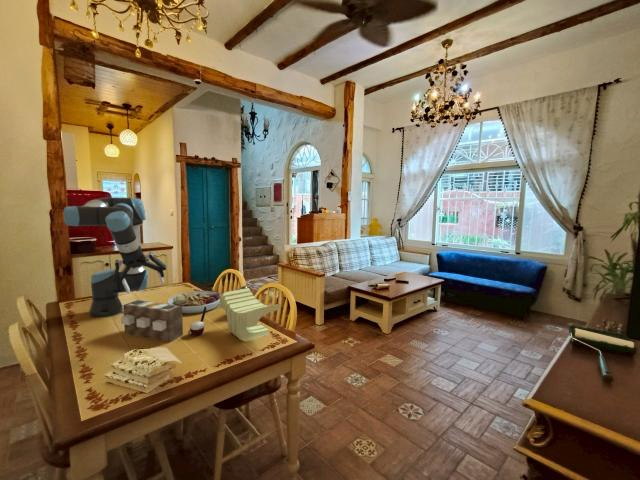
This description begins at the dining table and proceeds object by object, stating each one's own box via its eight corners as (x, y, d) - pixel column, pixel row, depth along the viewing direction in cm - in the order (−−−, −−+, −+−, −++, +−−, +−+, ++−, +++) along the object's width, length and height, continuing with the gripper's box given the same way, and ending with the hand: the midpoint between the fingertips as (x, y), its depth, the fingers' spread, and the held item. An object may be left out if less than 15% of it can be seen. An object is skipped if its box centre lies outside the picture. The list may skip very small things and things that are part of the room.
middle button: (136, 326, 134) (136, 319, 133) (142, 323, 137) (142, 316, 136) (144, 328, 132) (144, 320, 132) (150, 325, 135) (150, 318, 135)
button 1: (121, 323, 136) (120, 316, 136) (127, 321, 139) (127, 314, 139) (128, 325, 135) (128, 318, 134) (134, 322, 138) (134, 315, 137)
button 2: (152, 329, 131) (152, 322, 131) (158, 326, 134) (158, 319, 134) (160, 331, 130) (160, 323, 129) (166, 328, 133) (166, 320, 132)
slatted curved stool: (220, 327, 150) (219, 293, 148) (248, 320, 160) (248, 287, 158) (248, 350, 128) (248, 310, 125) (279, 340, 138) (279, 303, 136)
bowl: (161, 317, 161) (160, 303, 160) (174, 299, 190) (174, 287, 189) (219, 314, 168) (219, 300, 167) (223, 297, 197) (223, 285, 196)
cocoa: (189, 339, 137) (187, 315, 135) (186, 334, 142) (184, 310, 140) (210, 334, 142) (209, 310, 140) (207, 328, 147) (205, 306, 145)
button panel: (124, 333, 140) (123, 303, 138) (139, 327, 148) (138, 298, 146) (170, 342, 133) (168, 310, 131) (182, 334, 141) (182, 305, 139)
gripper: (92, 261, 113) (113, 301, 125) (163, 245, 122) (176, 283, 134) (94, 250, 119) (114, 289, 131) (162, 236, 128) (175, 273, 140)
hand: (146, 286), depth 133 cm, fingers open, 13 cm apart
